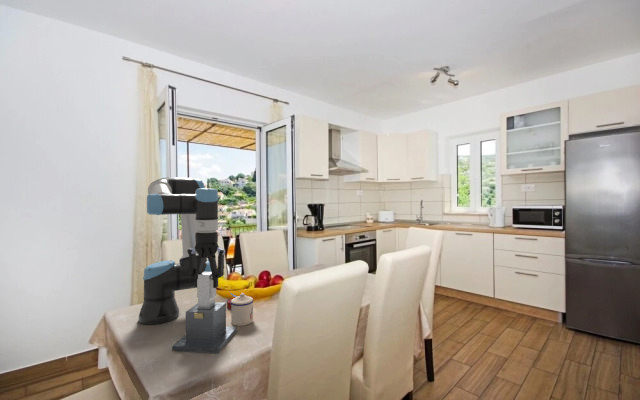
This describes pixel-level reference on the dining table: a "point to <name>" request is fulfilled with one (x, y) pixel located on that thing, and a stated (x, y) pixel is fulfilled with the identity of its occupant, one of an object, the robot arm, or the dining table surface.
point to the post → (205, 291)
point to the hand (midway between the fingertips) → (206, 296)
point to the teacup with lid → (242, 310)
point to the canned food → (230, 301)
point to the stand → (205, 330)
